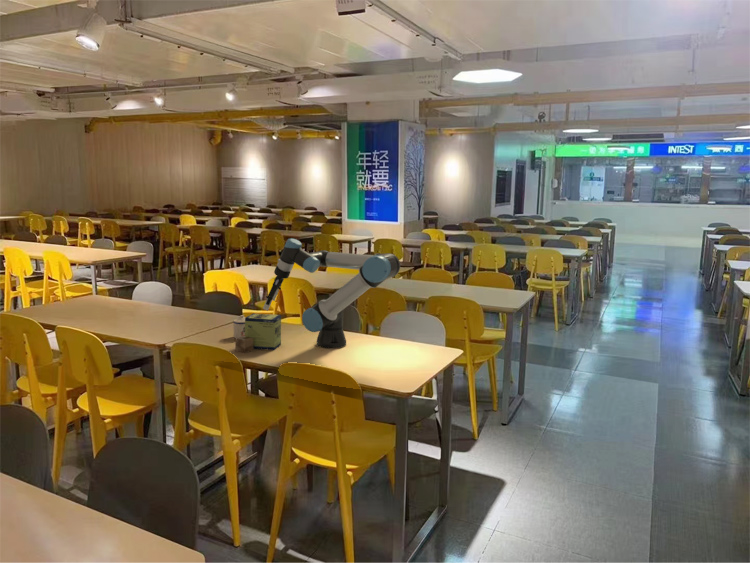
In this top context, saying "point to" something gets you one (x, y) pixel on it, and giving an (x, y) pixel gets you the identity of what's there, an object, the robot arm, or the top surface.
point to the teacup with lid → (239, 327)
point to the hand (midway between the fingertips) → (268, 304)
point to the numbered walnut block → (244, 344)
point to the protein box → (264, 330)
